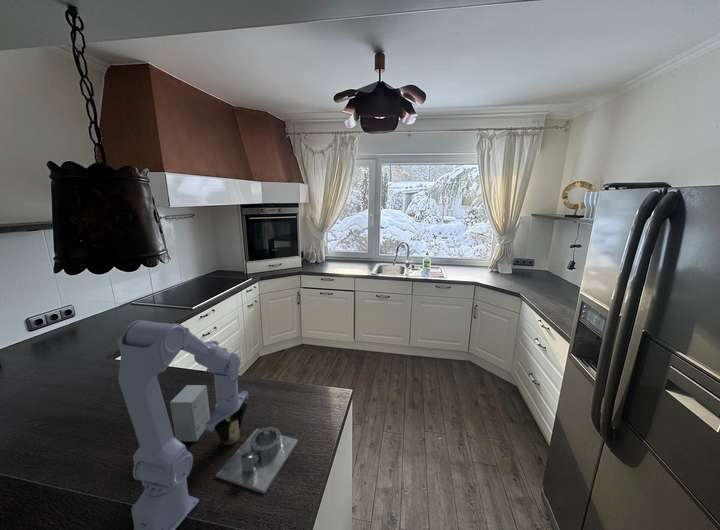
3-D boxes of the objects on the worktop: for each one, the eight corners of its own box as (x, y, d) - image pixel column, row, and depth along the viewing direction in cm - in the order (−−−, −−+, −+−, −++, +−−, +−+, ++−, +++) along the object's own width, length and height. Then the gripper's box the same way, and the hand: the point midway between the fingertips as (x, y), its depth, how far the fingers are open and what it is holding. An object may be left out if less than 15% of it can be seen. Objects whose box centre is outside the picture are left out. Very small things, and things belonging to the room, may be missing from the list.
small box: (191, 421, 90) (186, 384, 88) (211, 421, 90) (207, 384, 88) (174, 441, 82) (169, 402, 80) (196, 442, 82) (191, 402, 80)
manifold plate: (264, 493, 68) (263, 477, 67) (216, 477, 72) (214, 461, 71) (297, 442, 83) (297, 427, 82) (256, 430, 87) (255, 416, 86)
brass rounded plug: (232, 446, 81) (230, 427, 79) (219, 442, 82) (217, 424, 81) (242, 434, 85) (241, 417, 84) (230, 431, 86) (229, 413, 85)
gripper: (233, 376, 88) (237, 414, 91) (194, 406, 75) (199, 450, 77) (253, 380, 86) (255, 419, 89) (216, 412, 73) (220, 457, 75)
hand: (230, 434), depth 83 cm, fingers closed on brass rounded plug, 4 cm apart
